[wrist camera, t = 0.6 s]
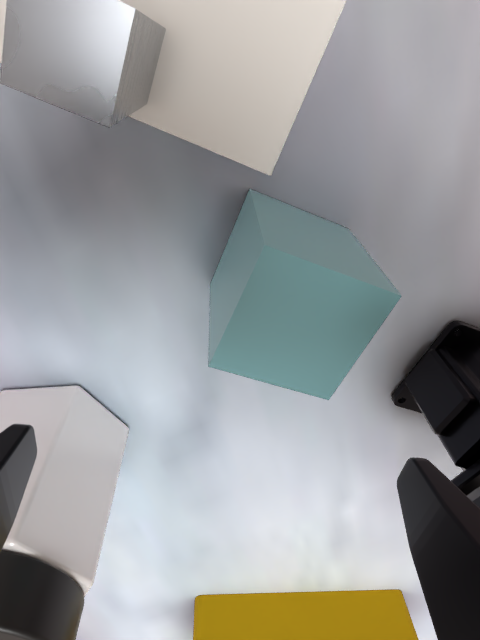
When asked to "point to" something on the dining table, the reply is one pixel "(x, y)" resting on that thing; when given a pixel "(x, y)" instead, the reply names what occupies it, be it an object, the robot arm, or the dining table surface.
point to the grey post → (81, 55)
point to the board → (233, 71)
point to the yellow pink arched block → (304, 616)
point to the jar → (58, 510)
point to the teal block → (294, 299)
